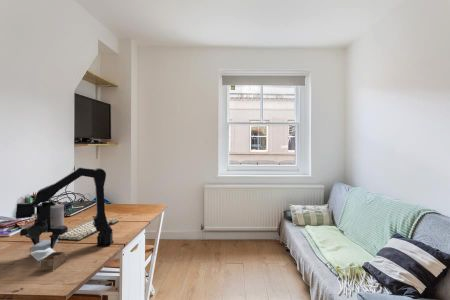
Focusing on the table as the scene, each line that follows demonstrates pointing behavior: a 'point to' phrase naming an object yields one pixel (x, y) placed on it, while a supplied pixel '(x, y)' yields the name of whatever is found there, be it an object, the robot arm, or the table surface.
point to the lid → (42, 245)
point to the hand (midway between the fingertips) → (44, 248)
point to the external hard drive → (42, 254)
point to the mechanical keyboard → (83, 230)
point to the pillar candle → (57, 215)
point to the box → (52, 261)
